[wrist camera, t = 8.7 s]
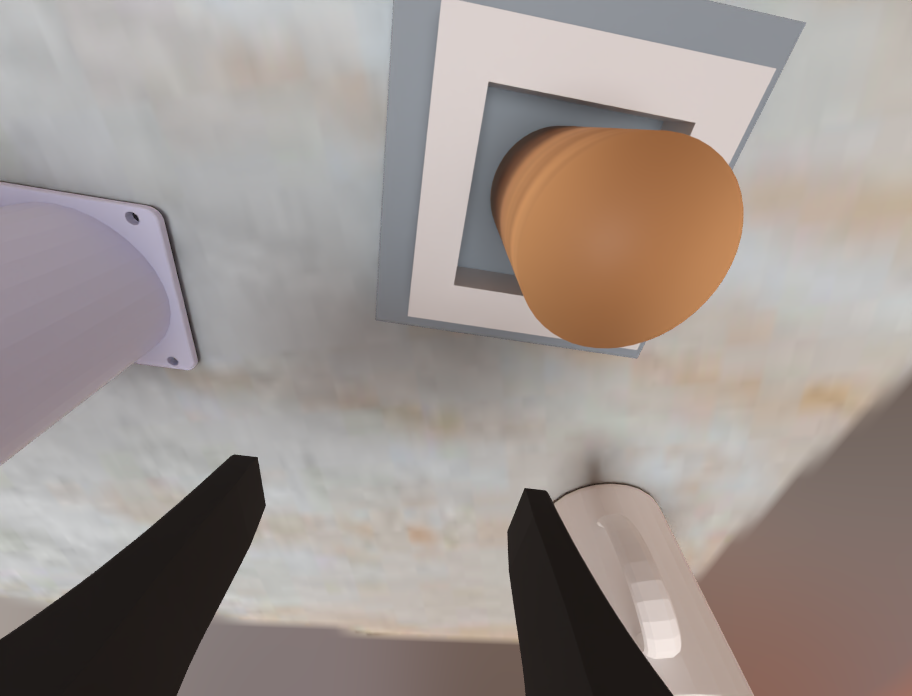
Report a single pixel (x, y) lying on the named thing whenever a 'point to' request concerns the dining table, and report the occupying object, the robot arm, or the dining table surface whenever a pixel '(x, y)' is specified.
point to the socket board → (540, 126)
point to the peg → (616, 229)
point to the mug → (651, 588)
